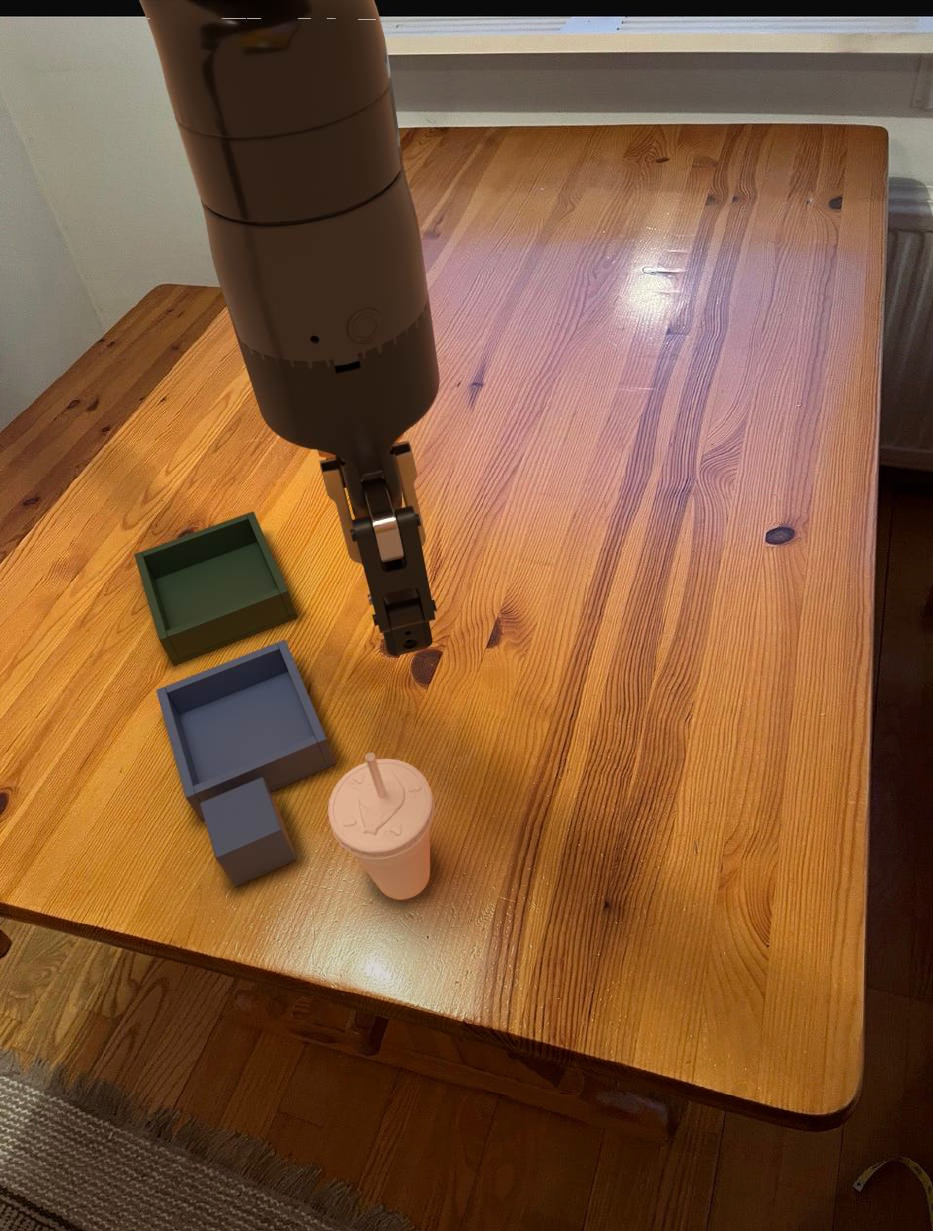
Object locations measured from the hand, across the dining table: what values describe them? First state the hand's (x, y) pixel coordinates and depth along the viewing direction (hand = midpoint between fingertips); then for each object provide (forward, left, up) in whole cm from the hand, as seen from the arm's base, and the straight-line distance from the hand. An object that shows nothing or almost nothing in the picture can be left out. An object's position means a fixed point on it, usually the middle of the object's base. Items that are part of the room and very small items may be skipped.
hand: (393, 584), depth 47 cm
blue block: (-13, +4, -24) cm, 27 cm away
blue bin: (-11, +13, -24) cm, 29 cm away
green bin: (-9, +28, -24) cm, 38 cm away
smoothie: (-4, -3, -24) cm, 25 cm away
